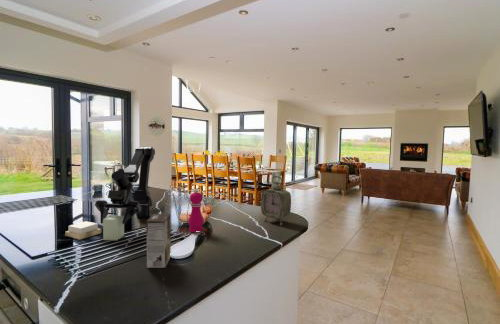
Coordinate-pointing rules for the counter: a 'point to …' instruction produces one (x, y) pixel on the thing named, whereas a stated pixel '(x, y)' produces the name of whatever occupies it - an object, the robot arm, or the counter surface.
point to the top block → (83, 227)
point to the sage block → (113, 227)
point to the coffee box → (158, 240)
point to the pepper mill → (196, 212)
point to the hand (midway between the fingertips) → (112, 223)
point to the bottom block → (84, 235)
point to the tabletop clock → (276, 202)
